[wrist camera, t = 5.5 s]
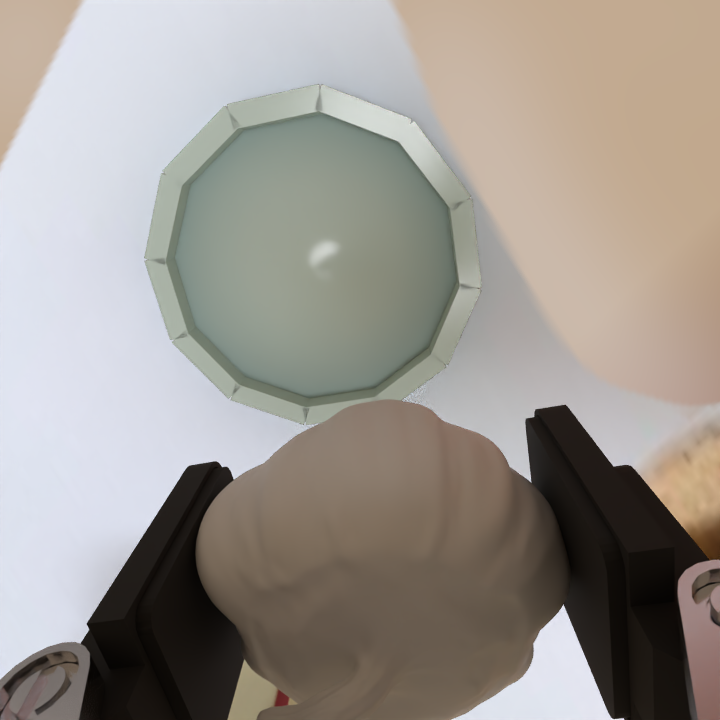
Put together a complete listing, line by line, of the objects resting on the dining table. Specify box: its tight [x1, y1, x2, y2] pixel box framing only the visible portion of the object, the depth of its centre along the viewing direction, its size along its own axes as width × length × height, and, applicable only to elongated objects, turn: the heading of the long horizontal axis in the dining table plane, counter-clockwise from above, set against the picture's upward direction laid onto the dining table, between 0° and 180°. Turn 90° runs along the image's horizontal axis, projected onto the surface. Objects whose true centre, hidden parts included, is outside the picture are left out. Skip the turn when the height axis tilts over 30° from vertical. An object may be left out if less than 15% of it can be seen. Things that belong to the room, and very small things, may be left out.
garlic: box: [195, 399, 570, 720], centre depth 9 cm, size 6×5×5 cm
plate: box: [144, 84, 482, 425], centre depth 23 cm, size 14×14×2 cm
